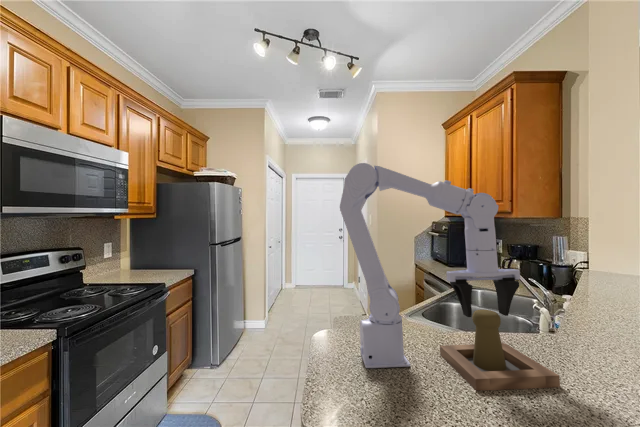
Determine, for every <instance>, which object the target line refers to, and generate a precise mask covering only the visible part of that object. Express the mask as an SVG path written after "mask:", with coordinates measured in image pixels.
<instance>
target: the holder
mask: <svg viewBox="0 0 640 427" xmlns="http://www.w3.org/2000/svg"><path fill="white" fill-rule="evenodd" d="M501 344H502V348H503V353H504V357H505V362H506V367H507V368H506V370H504V371H488V370H484V369H481V368H479V367H477V366H476V365H474V363H473V357H474V343H473V344H451V345H439V355H440V356H441V357H442V358H443V359H444V361H446V362H447V363H448V364H449V365H450V366H451V367H452V368H453V369H454V370H455V371H456V372H457V373H458V374H459V375H460V376H461V377H462V378H463V379H464V380H465V382H467V383H468V384H469V385H470V386H471V388H473V389H474V390H475V391H477V392H478V391H481V390H482V391H499V390H500V391H501V390H502V391H503V390H506V391H507V390H522V389H523V390H524V389H526V390H527V389H549V388H551V389H552V388H561V381H560V375H559V374H558V373H556V372H554V371H552V370H551V369H549V368H547V367H546V366H544V365H542V364H541V363H539V362H537V361H536V360H534V359H533V358H530V357H529V356H527V355H525V354H524V353H522V352H521V351H519V350H517V349H516V348H514V347H512V346H510V345H509V344H507V343H505V342H501Z"/></svg>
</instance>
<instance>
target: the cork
mask: <svg viewBox="0 0 640 427" xmlns="http://www.w3.org/2000/svg"><path fill="white" fill-rule="evenodd" d="M471 318H472V322H473V324H474V325H475V334H474V343H473V344H474V357H473V363H474V365H476V366H477V367H479V368H481V369H484V370H488V371H504V370H506V368H507V367H506V362H505V357H504V353H503V348H502V344H501V343H502V339H501V335H500V331H499V328H500V327H501V323H502V321H501V316H500V315H499V313H497V312H496V311H495V310H494V311H493V310H491V309H490V310H489V309H476V310H474V311H473V312H472V317H471Z"/></svg>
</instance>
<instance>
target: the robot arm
mask: <svg viewBox="0 0 640 427" xmlns="http://www.w3.org/2000/svg"><path fill="white" fill-rule="evenodd" d="M343 181H344V182H343V183H344V184H343V189H342V194H341V198H340V203H339V211H340V212H341V213H340V214H341V216H342V219H343V222H344V225H345V227H346V231H347V233H348V236H349V239H350V241H351V244H352V247H353V249H354V253H355V255H356V257H357V258H356V259H357V260H358V263H359V266H360V269H361V272H362V275H363V276H364V277H363V278H364V280H365V284H366V289H367V293H368V296H369V311H370V314H369V316H368V318H366V319H361V320H360V321H359V340H360V346H359V349H360V356H361V359H362V361H363V363H364V366H365V367H364V368H366V369H380V368H381V369H382V368H401V367H402V368H404V367H411V363H410V361H409V359H407V357H406V355H405V354H404V352H405V351H404V350H405V349H404V334H403V333H404V332H403V317H402V316H401V314H400V313H401V312H400V311H401V306H400V303H399V295H398V293H397V291H396V290H395V288H393V287H392V286H391V284H390V282H389V280H388V277H387V275H386V274H385V271H384V267H383V265H382V263H381V260H380V257H379V254H378V251H377V249H376V246H375V244H374V241H373V238H372V236H371V233H370V231H369V230H370V229H369V228H368V224H367V222H366V219H365V217H364V215H363V214H364V213H363V212H362V210H363V208H364V206H365V204H366V202H367V200H368V199H369V197H371V196H372V195H373V194H374V193H375V192H376V191H377V189H378V190H379V192H382V191H385V190H390V189H394V190H397V191H401V192H404V193H408V194H411V195H415V196H418V197H422V198H425V199H426V201H427V204H428V205H429V206H431V207H434V208H437V209H440V210H443V211H446V212H448V213H451V214H454V215H461V217H462V218H463V219H464V239H465V256H466V269H462V270H461V269H460V270H451V271H449V270H447V271H446V281H447V282H449V284H450V286H451V287H452V289H453V291H454V293H455V294H456V297H457V299H458V301H459V305H460V306H461V310H462V315H463V316H465V317H467V318H472V315H473V312H472V308H473V307H472V293H473V292H472V291H473V288H474V287H473V285H472V284H469V282H468V281H472V282H473V281H493V284H494V288H495V293H496V298H497V309H498V314H500V315H502V316H505V317H508V316H509V313H510V310H511V304H512V301H513V298H514V296H515V294H516V293H517V290H518V289H519V287H520V281H518V280H521V270H519V269H515V268H499V264H498V252H497V249H498V248H497V239H496V238H497V236H496V235H497V234H496V227H495V226H496V225H495V216H496V215H497V214H498V212H499V206H500V205H499V204H497V201H496V200H495V199H494V198H493V196H492V195H490V194H489V193H485V192H479V193H478V192H477V193H474V191H475V190H474V188H470V187H469V188H467V189H466V188H462V187H459V186H457V185H454V184H452V181H451V180H447V179H446V180H444V182H443V181H441V180H438V181H436V182H433V183H428V182H425V181H423V180H421V179H417V178H414V177H412V176H409V175H407V174H403V173H401V172H397V171H395V170H392V169H389V168H386V167H383V166H380V165H373V166H372V165H371V164H369V163H366V162H359V163H357V164H355V165H353V166H352V167H351V169H350V170H349V172H347V175H346V176H345V178H344V179H343Z"/></svg>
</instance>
